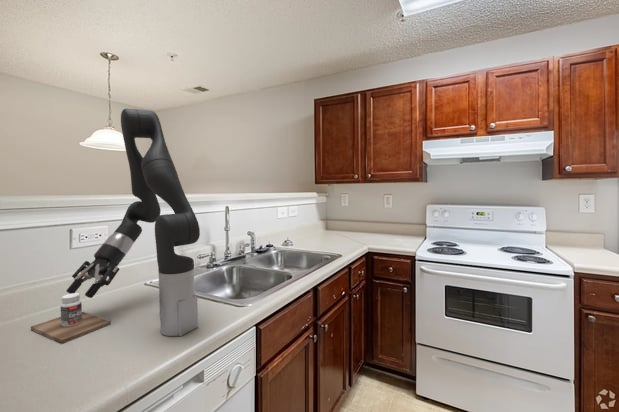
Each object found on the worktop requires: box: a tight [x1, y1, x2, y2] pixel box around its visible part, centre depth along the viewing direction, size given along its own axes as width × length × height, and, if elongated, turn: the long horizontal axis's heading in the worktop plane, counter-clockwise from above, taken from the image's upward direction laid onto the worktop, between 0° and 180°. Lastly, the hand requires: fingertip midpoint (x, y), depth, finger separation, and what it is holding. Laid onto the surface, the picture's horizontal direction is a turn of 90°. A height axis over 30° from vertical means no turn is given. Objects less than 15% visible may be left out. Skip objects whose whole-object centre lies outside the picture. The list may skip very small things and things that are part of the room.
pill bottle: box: [60, 292, 83, 327], centre depth 84 cm, size 5×5×8 cm
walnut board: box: [30, 311, 112, 344], centre depth 84 cm, size 17×12×1 cm
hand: (78, 294), depth 85 cm, fingers open, 8 cm apart
